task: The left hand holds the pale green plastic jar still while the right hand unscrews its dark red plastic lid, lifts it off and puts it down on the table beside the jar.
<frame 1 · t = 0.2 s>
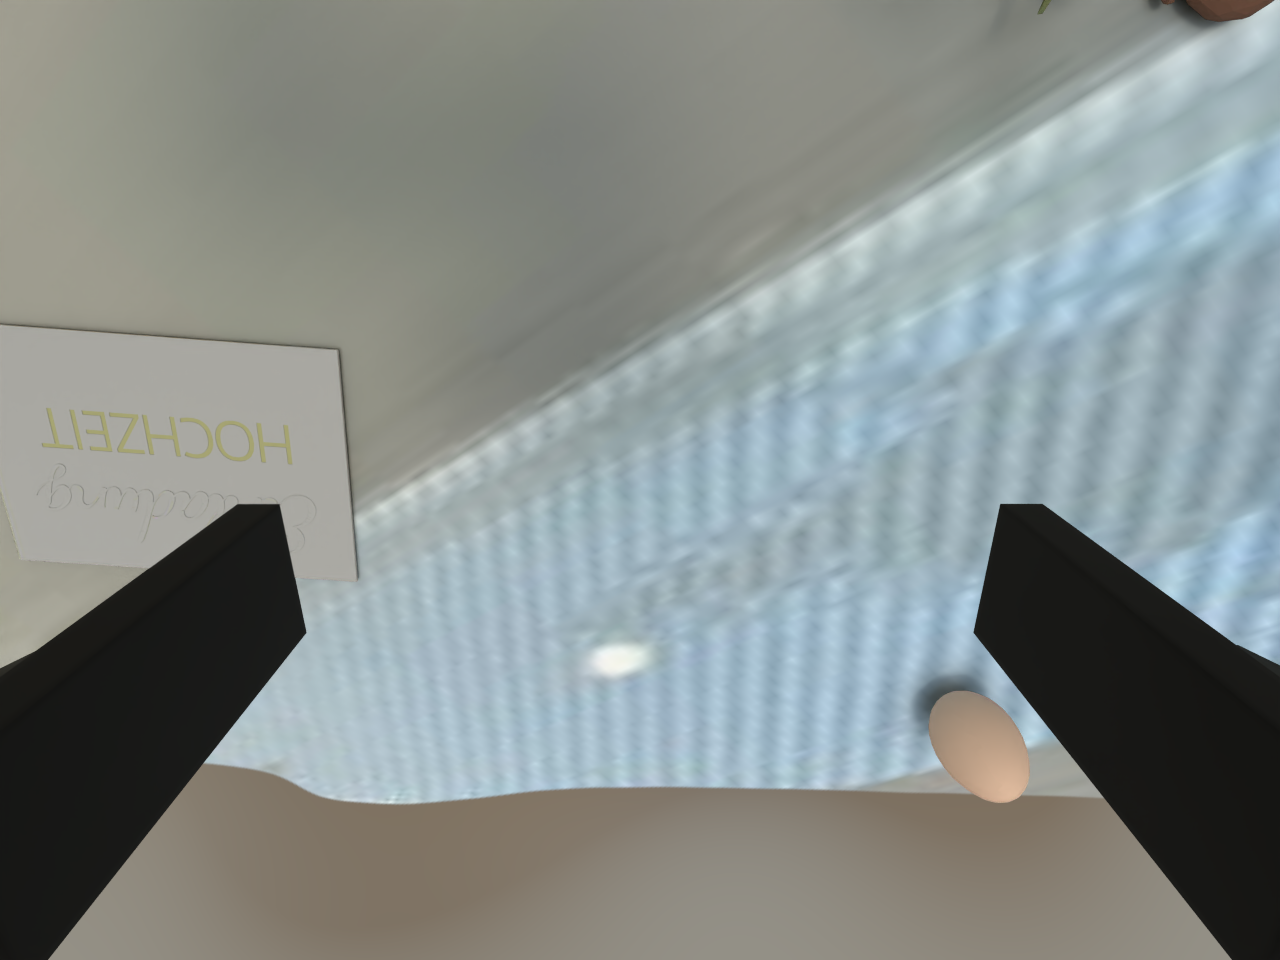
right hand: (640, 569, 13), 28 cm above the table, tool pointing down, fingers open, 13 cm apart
egg: (949, 699, 48), on the table
invitation card: (173, 458, 42), on the table
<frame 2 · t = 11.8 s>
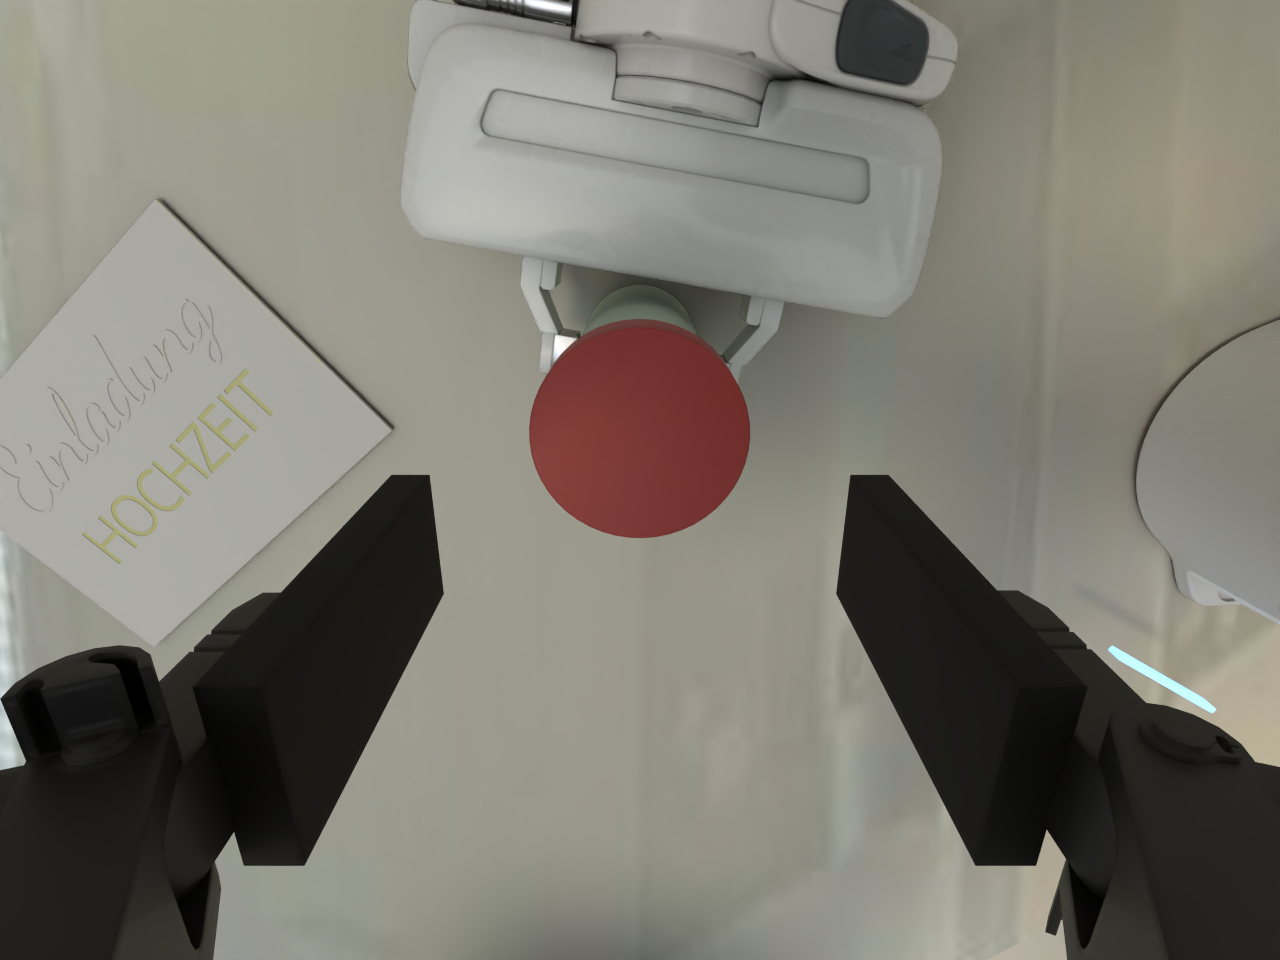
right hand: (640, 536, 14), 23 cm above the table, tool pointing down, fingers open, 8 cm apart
left hand: (637, 386, 30), fingers closed on jar, 5 cm apart
jar: (639, 340, 35), on the table, touching left hand
invitation card: (159, 448, 37), on the table
lid: (639, 435, 20), point 16 cm above the table, screwed on, not yet turned
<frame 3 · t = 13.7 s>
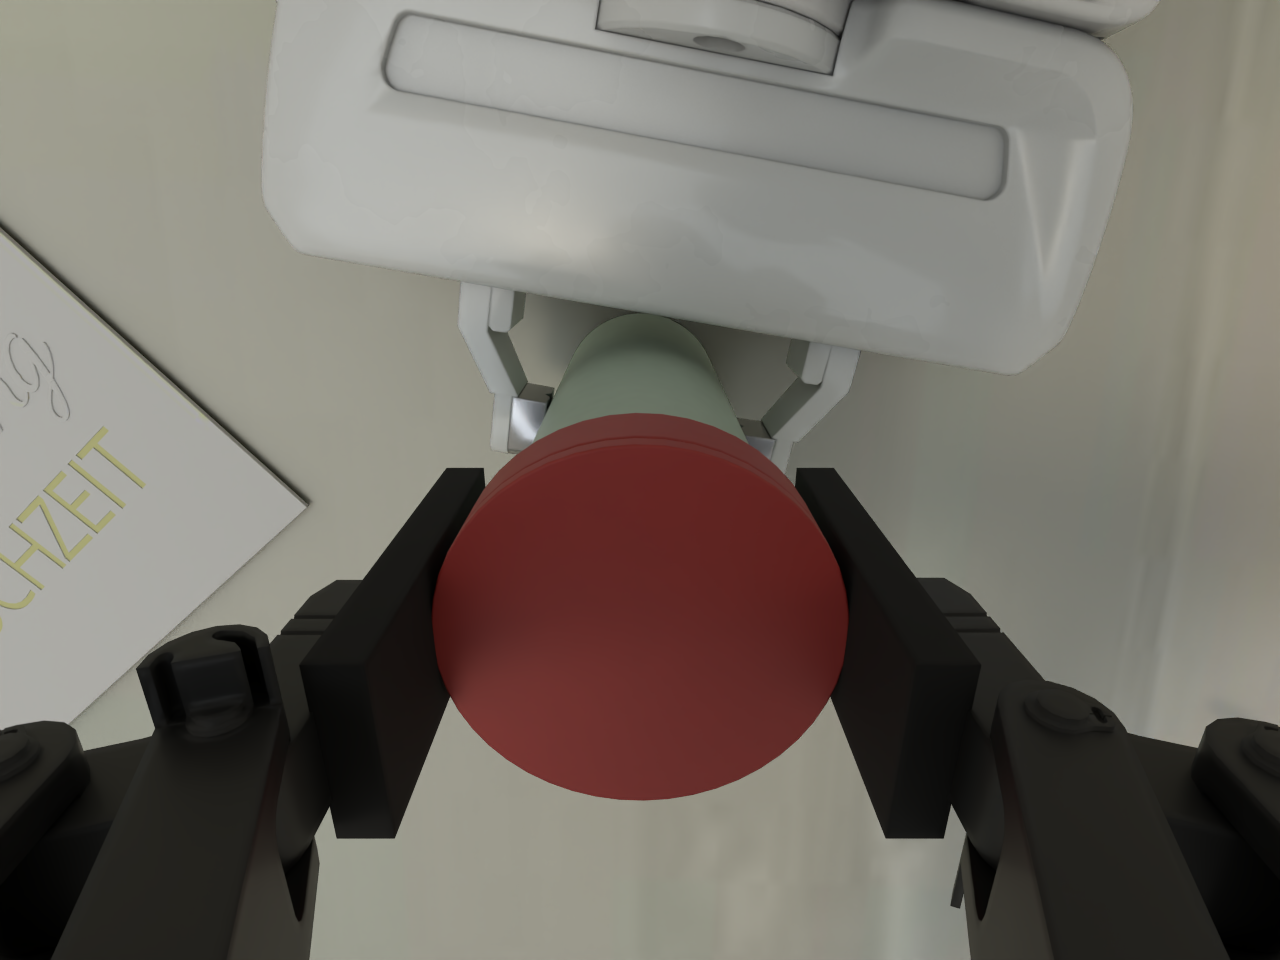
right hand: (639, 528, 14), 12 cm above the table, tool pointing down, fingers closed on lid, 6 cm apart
left hand: (636, 467, 20), fingers closed on jar, 5 cm apart
jar: (640, 388, 26), on the table, touching left hand
lid: (640, 630, 11), point 16 cm above the table, screwed on, not yet turned, touching right hand
when the right hand's fingers open (13 cm above the table, at t = 15.0 s): lid stays where it is, point 16 cm above the table.
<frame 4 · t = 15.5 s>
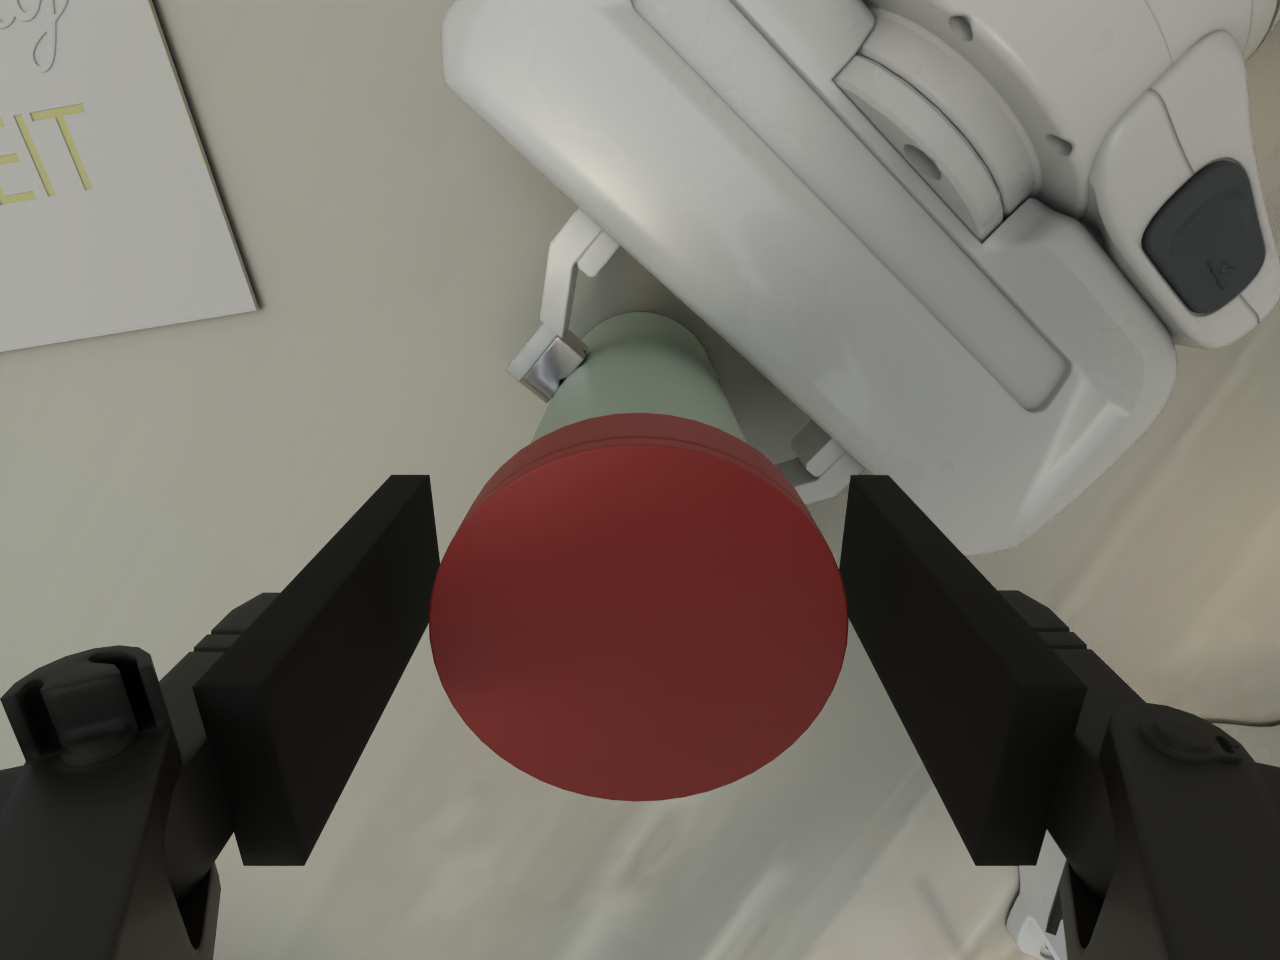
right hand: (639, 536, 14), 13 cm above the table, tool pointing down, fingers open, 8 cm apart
left hand: (620, 458, 21), fingers closed on jar, 5 cm apart
jar: (639, 386, 26), on the table, touching left hand
lid: (638, 630, 11), point 16 cm above the table, turned 74° so far, risen 0.3 cm, still on its thread
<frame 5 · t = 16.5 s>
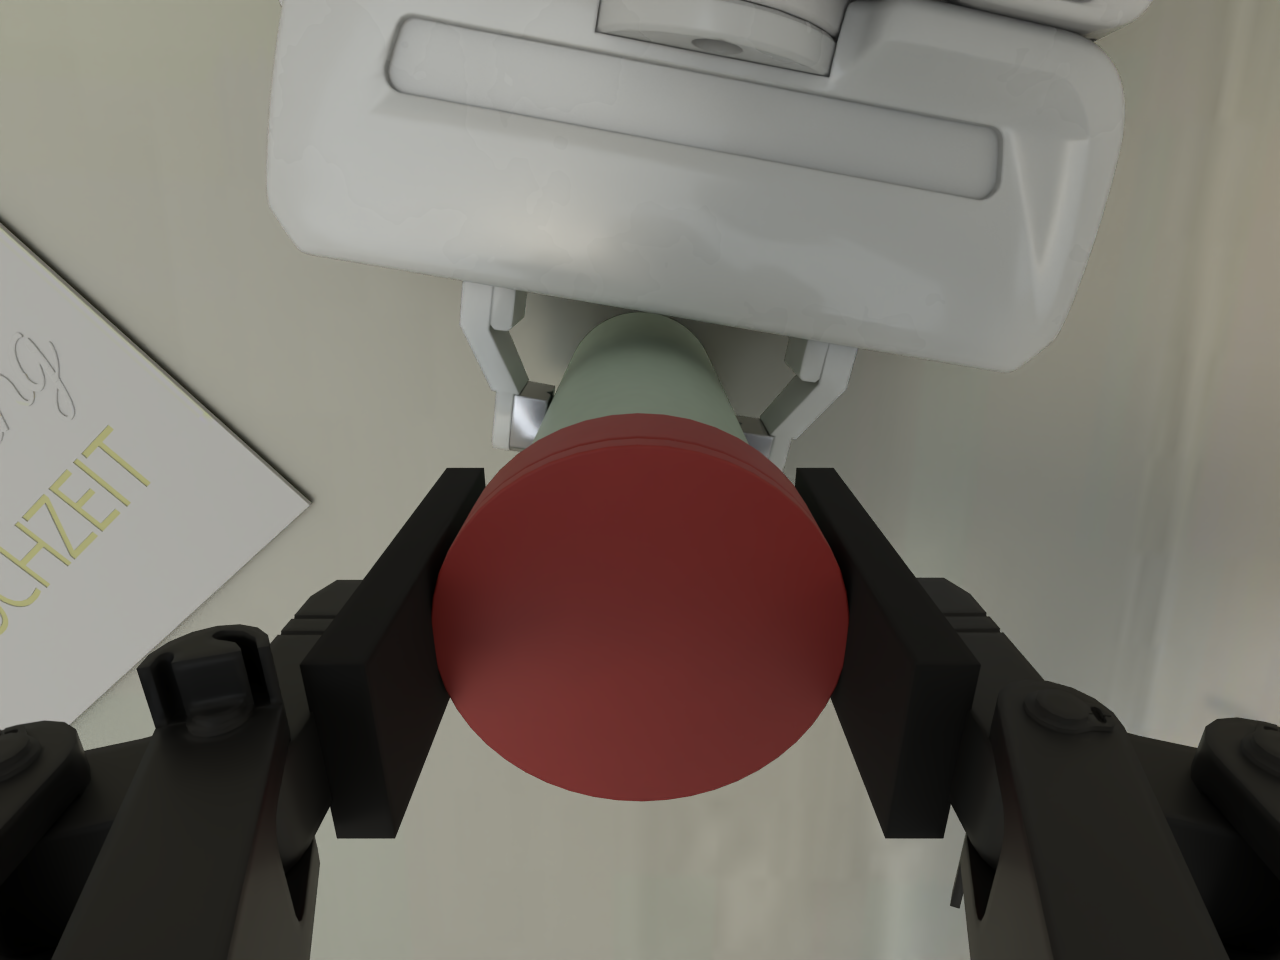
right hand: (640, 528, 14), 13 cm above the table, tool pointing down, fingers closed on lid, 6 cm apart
left hand: (637, 464, 21), fingers closed on jar, 5 cm apart
jar: (640, 386, 26), on the table, touching left hand
invitation card: (4, 527, 28), on the table
lid: (640, 630, 11), point 16 cm above the table, turned 74° so far, risen 0.3 cm, still on its thread, touching right hand
when the right hand's fingers open (0 cm above the table, at t = 21.8 s): lid drops 3 cm, point 1 cm above the table.
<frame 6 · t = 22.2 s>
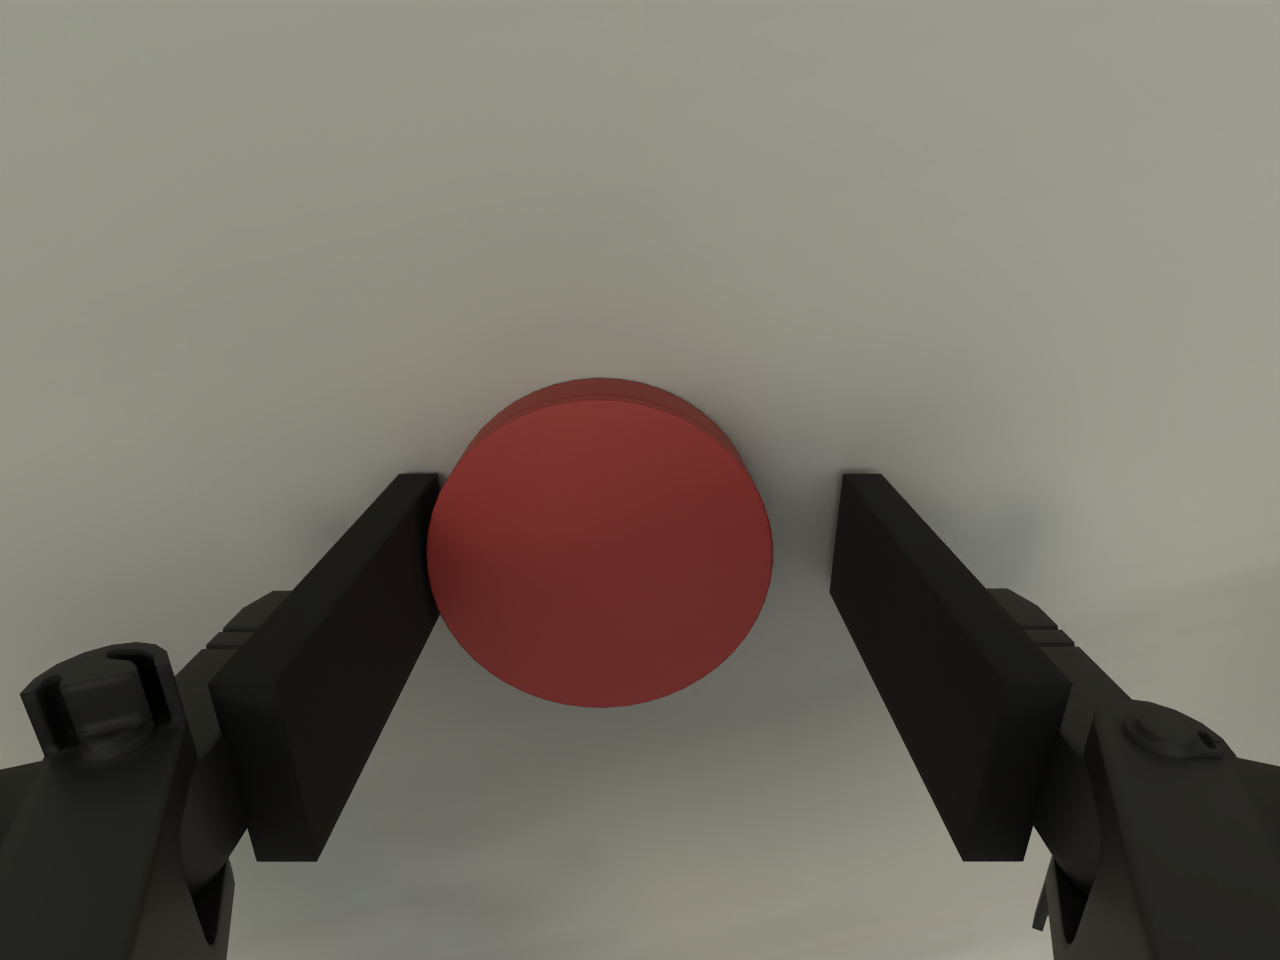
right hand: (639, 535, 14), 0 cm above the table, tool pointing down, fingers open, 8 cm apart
lid: (601, 559, 13), point 1 cm above the table, off its thread
when the left hand's fingers open (6 cm above the table, at t = 23.6 s): jar stays where it is, on the table.
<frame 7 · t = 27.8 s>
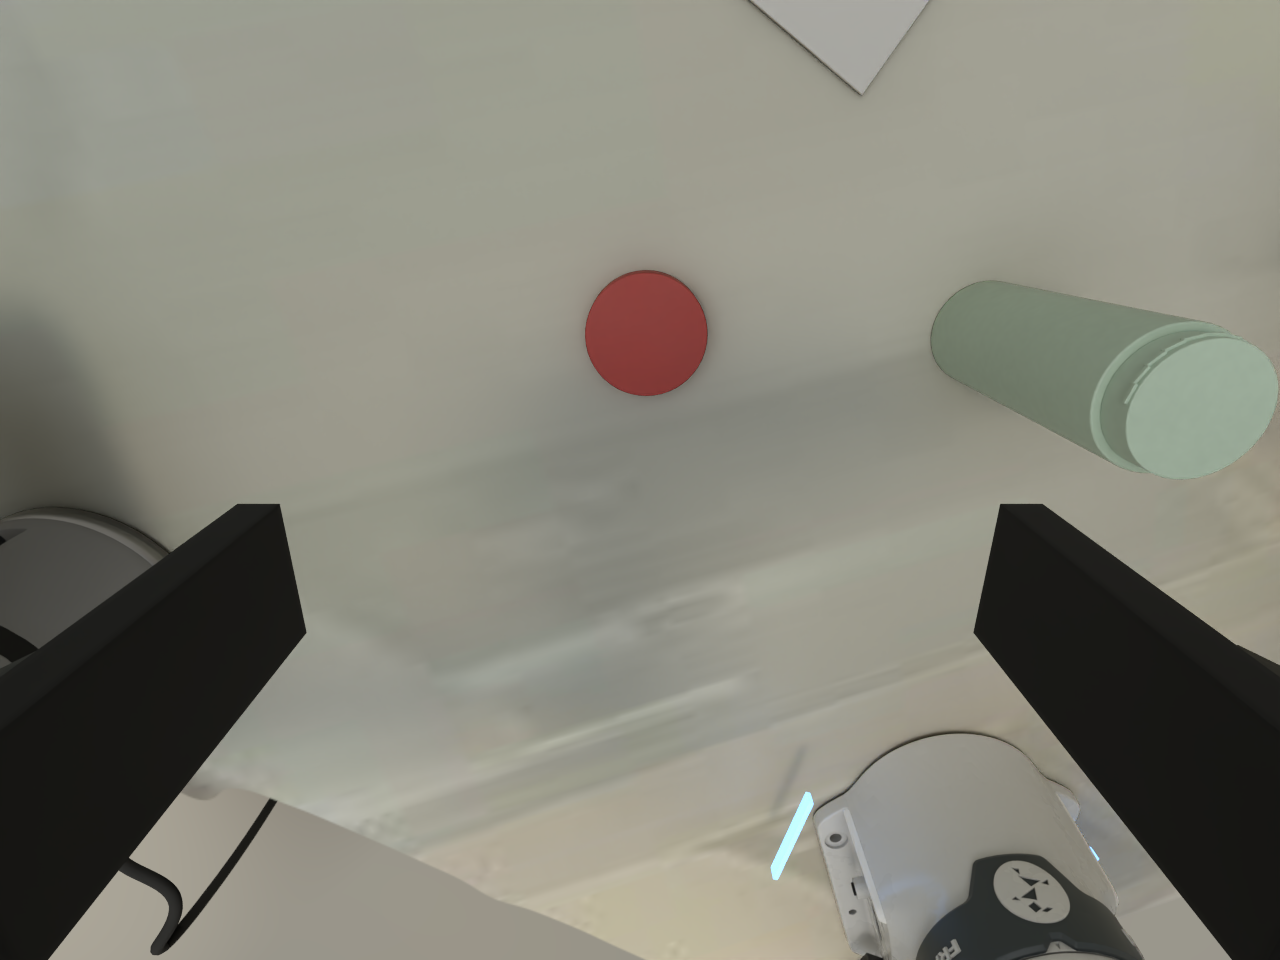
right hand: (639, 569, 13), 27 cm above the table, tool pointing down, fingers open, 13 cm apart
jar: (981, 332, 38), on the table
lid: (646, 335, 37), point 1 cm above the table, off its thread
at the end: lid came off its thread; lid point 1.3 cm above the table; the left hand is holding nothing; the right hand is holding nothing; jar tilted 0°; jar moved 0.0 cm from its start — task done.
